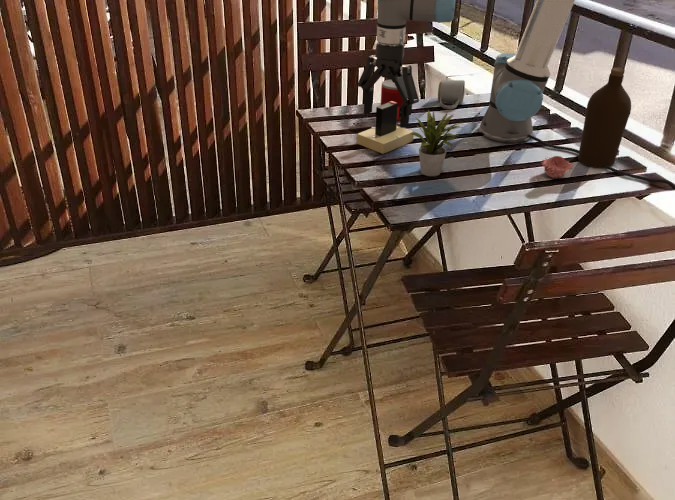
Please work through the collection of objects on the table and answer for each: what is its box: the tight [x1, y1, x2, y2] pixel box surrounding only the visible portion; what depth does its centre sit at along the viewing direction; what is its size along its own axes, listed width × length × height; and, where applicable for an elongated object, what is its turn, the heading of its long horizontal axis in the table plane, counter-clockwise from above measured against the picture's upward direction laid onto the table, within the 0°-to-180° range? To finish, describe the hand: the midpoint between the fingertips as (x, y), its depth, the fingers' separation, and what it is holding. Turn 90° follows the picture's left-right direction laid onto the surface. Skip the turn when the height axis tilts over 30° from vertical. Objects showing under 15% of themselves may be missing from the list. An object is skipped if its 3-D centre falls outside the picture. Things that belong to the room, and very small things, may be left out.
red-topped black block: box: [374, 101, 398, 136], centre depth 181 cm, size 6×2×8 cm, turn 135°
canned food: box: [380, 79, 404, 123], centre depth 198 cm, size 8×8×11 cm
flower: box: [541, 155, 574, 179], centre depth 166 cm, size 8×8×6 cm
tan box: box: [356, 124, 415, 155], centre depth 184 cm, size 13×11×3 cm
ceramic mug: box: [437, 79, 466, 110], centre depth 210 cm, size 11×8×8 cm
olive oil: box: [577, 67, 632, 169], centre depth 169 cm, size 11×11×25 cm
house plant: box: [410, 109, 464, 177], centre depth 163 cm, size 14×14×16 cm
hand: (385, 119), depth 181 cm, fingers open, 13 cm apart
